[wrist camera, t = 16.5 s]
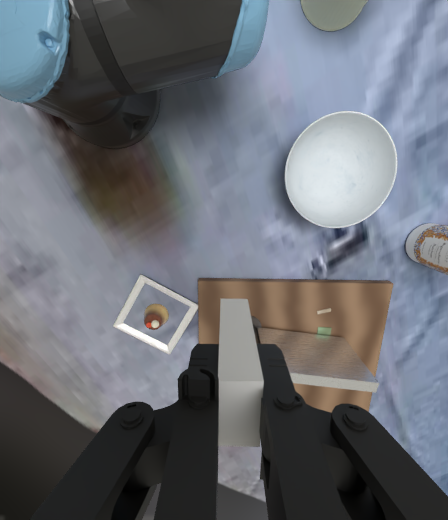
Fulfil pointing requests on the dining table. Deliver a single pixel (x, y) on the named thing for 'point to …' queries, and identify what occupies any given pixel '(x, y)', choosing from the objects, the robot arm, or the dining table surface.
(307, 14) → the can
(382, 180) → the chinaware
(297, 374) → the panel with knobbed post
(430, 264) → the bath foam
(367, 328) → the brown wooden cutting board
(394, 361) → the dining table surface
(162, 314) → the dessert
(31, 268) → the dining table surface
